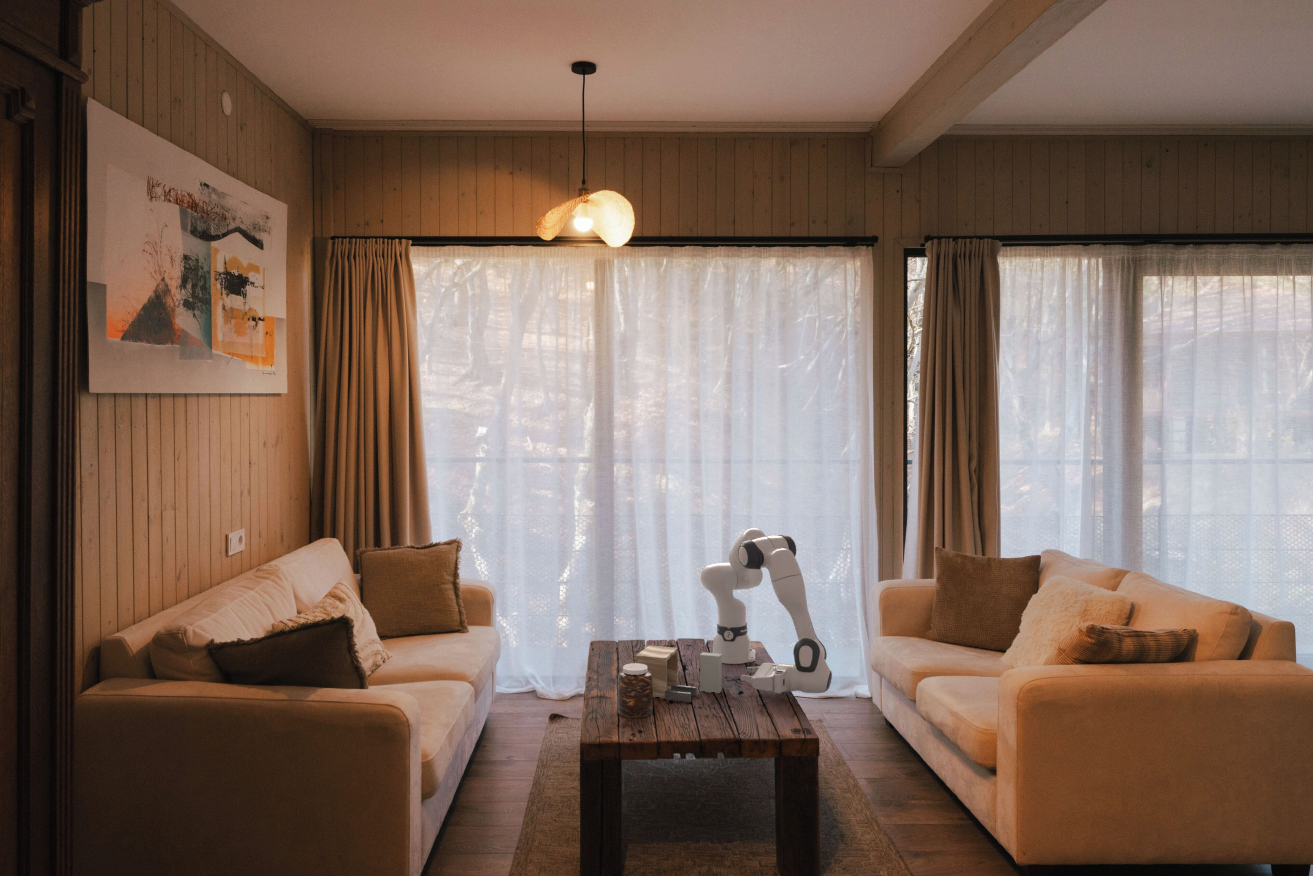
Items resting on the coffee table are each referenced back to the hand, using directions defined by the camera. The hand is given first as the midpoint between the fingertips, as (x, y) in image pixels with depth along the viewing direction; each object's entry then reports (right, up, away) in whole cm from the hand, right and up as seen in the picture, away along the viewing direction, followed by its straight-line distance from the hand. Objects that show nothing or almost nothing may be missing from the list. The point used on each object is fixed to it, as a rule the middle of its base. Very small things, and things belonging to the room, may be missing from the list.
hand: (743, 673), depth 293 cm
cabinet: (-30, -7, +4) cm, 31 cm away
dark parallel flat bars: (-22, -7, -4) cm, 24 cm away
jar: (-37, -8, -18) cm, 42 cm away
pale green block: (-11, -7, +4) cm, 14 cm away
